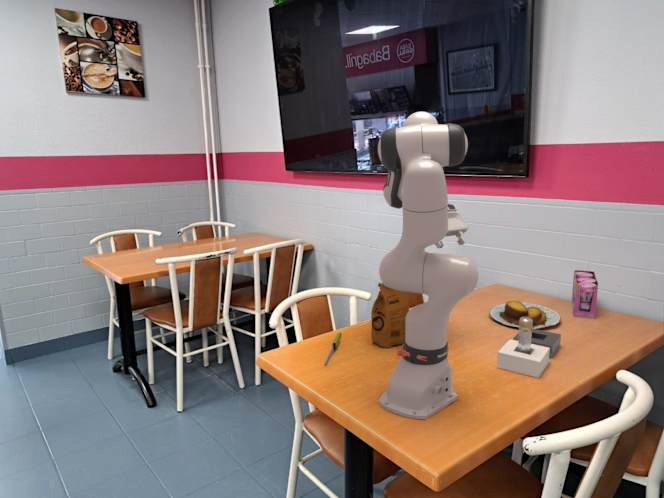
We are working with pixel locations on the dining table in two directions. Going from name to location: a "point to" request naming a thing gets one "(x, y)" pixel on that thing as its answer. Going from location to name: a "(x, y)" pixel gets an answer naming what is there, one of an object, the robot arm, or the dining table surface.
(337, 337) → the kitchen knife
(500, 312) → the food on plate
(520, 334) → the shiny cylindrical peg
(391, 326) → the coffee package
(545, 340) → the socket block
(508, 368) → the rack block
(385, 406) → the robot arm
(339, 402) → the dining table surface
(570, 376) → the dining table surface
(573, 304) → the gum box
